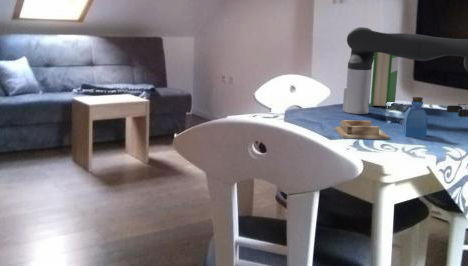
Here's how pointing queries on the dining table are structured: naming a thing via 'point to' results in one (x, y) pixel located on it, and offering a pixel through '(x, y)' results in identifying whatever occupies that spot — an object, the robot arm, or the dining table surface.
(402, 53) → the robot arm
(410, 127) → the perfume bottle
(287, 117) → the dining table surface
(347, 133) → the u cradle
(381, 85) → the hardback book
